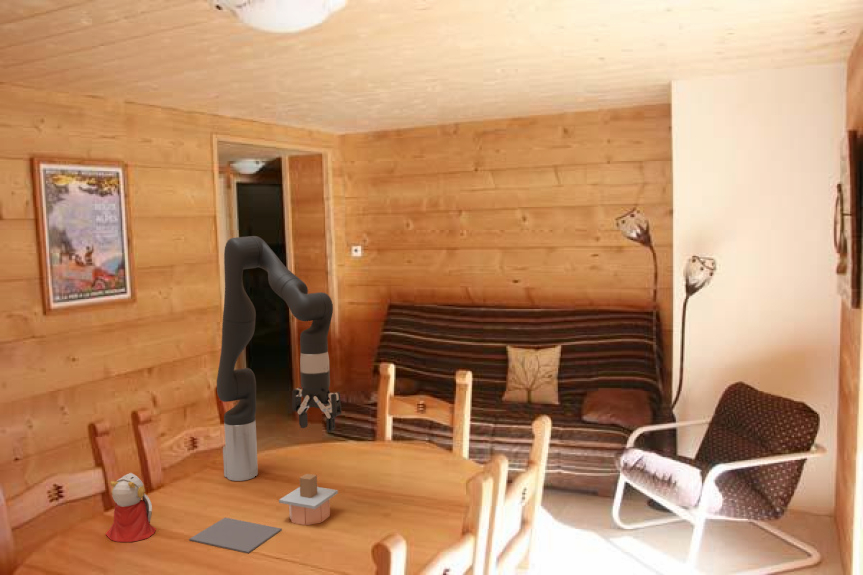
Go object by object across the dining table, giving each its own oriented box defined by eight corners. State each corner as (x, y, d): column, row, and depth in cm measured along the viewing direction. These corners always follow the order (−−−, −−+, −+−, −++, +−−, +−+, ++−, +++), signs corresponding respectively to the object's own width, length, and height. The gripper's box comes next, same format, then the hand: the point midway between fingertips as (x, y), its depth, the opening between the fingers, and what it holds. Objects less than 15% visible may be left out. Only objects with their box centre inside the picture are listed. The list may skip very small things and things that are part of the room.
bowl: (282, 520, 176) (281, 502, 175) (304, 505, 185) (303, 488, 185) (315, 527, 172) (314, 508, 171) (336, 511, 181) (335, 493, 181)
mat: (189, 540, 166) (189, 538, 166) (225, 518, 178) (225, 517, 178) (248, 553, 159) (248, 551, 159) (281, 530, 171) (281, 528, 171)
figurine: (169, 526, 174) (166, 470, 173) (134, 546, 164) (130, 486, 162) (132, 518, 179) (129, 463, 178) (95, 537, 169) (91, 479, 168)
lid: (279, 502, 175) (278, 481, 175) (303, 487, 185) (302, 466, 185) (315, 509, 171) (314, 487, 170) (337, 493, 181) (337, 472, 180)
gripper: (284, 369, 177) (286, 430, 178) (328, 374, 170) (331, 437, 172) (302, 364, 183) (304, 422, 185) (345, 368, 177) (347, 428, 179)
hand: (317, 429), depth 178 cm, fingers open, 8 cm apart
